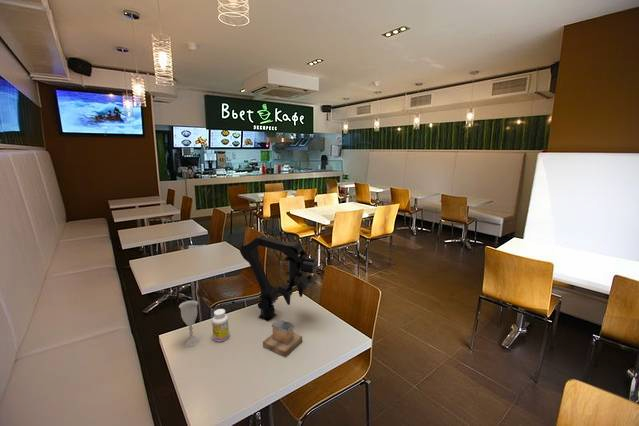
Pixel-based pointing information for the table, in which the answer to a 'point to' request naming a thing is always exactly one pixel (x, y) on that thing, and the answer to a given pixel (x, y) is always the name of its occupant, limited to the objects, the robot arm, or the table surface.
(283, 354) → the walnut stand
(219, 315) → the supplement bottle
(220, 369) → the table surface
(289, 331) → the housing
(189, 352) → the table surface
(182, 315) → the chalice
